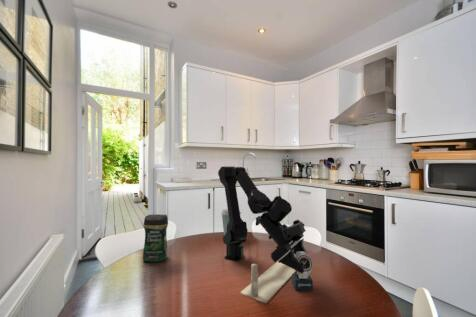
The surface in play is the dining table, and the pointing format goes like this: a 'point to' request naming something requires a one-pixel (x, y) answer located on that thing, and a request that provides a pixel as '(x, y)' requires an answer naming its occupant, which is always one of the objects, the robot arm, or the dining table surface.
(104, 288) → the dining table surface
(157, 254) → the coffee jar
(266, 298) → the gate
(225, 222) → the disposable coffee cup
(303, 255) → the watch
